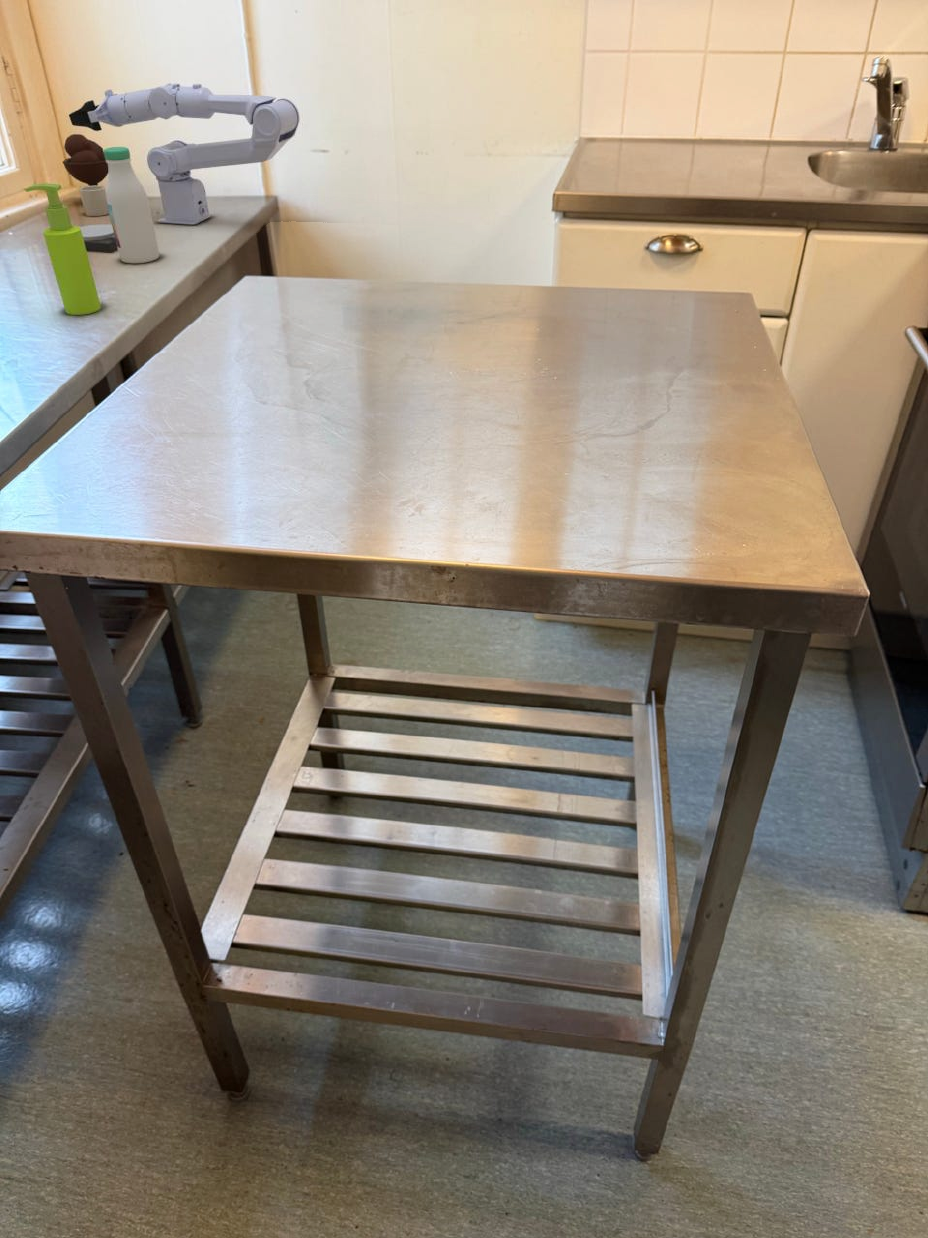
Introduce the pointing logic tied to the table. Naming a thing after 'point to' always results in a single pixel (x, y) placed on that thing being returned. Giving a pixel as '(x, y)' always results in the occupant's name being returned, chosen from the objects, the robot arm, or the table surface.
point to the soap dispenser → (68, 256)
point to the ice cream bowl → (85, 160)
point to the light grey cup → (94, 200)
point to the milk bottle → (129, 209)
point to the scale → (99, 238)
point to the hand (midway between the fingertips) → (82, 116)
